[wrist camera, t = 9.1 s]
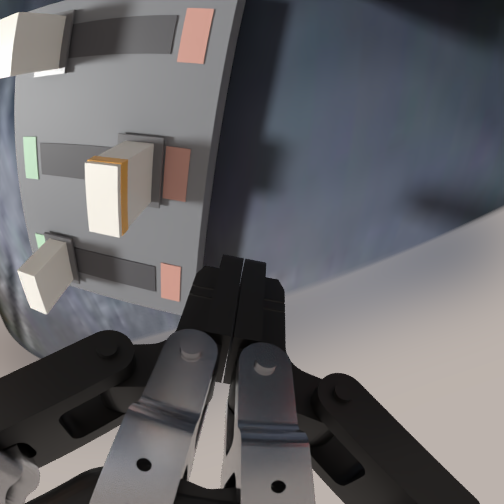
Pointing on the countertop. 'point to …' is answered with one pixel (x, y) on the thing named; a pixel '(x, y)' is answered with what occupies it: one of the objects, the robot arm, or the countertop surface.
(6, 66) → the breaker
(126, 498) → the robot arm
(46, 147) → the breaker panel
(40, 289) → the breaker
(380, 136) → the countertop surface
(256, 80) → the countertop surface
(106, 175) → the block
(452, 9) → the countertop surface
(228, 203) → the countertop surface
